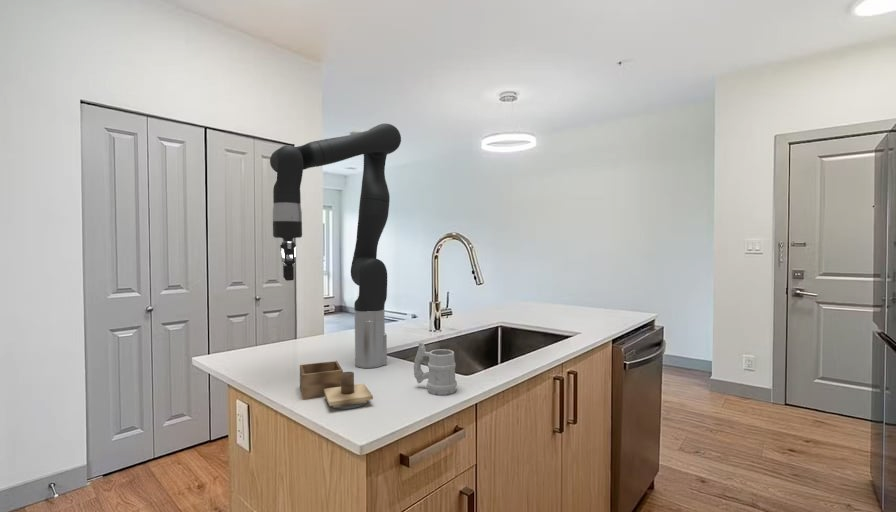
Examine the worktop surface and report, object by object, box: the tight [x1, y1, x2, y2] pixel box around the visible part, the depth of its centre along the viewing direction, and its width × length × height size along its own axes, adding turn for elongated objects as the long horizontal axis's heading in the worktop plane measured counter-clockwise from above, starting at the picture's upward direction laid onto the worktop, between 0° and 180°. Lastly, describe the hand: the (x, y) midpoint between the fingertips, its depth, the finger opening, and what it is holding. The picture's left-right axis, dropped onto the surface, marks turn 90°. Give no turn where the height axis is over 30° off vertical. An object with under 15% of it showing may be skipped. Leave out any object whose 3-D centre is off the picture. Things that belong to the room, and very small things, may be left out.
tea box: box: [299, 360, 344, 401], centre depth 110 cm, size 10×10×6 cm
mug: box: [413, 341, 458, 396], centre depth 110 cm, size 8×12×12 cm, turn 68°
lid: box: [324, 371, 374, 409], centre depth 102 cm, size 10×10×6 cm
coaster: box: [329, 400, 369, 410], centre depth 102 cm, size 9×9×1 cm
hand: (288, 279), depth 118 cm, fingers open, 8 cm apart
